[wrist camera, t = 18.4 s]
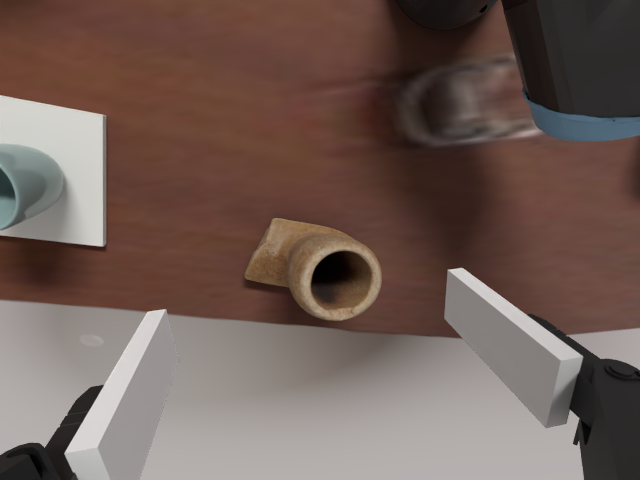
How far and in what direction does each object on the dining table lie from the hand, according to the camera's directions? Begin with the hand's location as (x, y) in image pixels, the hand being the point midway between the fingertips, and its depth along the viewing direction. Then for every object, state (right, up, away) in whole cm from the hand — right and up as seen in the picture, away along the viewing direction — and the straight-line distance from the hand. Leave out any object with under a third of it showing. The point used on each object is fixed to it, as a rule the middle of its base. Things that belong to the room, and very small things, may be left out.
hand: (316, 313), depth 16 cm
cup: (-33, +11, +23) cm, 42 cm away
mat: (-33, +11, +24) cm, 42 cm away
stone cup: (-2, +3, +33) cm, 33 cm away
